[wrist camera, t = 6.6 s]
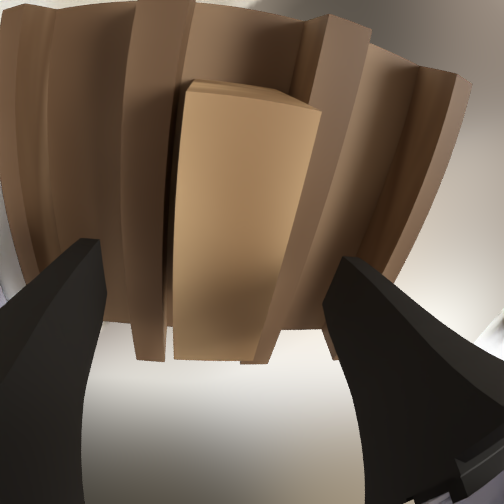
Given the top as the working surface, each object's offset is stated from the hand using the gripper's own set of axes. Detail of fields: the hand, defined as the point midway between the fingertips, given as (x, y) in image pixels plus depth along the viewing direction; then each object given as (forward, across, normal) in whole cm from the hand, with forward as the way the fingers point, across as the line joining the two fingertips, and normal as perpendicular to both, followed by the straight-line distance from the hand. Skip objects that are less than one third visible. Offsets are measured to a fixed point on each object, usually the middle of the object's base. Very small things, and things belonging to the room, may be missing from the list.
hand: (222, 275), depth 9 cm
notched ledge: (+5, 0, 0) cm, 5 cm away
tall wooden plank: (+5, 0, 0) cm, 5 cm away
